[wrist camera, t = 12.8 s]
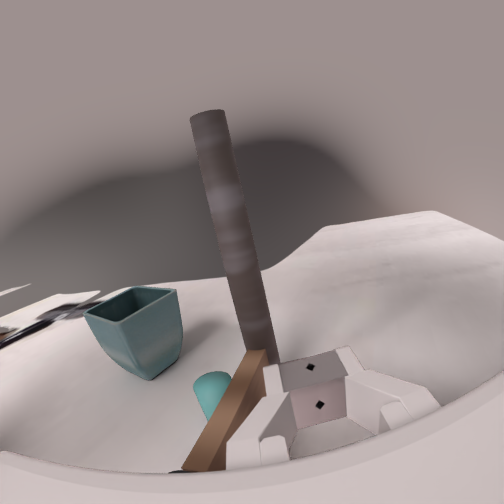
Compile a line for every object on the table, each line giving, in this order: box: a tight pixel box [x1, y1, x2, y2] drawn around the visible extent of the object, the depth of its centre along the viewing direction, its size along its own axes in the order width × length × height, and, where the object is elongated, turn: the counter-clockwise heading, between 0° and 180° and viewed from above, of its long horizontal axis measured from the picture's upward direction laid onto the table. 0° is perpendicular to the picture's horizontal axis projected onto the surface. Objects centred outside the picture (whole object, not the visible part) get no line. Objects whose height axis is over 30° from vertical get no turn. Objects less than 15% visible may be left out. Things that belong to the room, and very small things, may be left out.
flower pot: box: [83, 286, 183, 380], centre depth 33 cm, size 9×9×9 cm
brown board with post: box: [181, 110, 282, 473], centre depth 17 cm, size 15×3×24 cm, turn 163°
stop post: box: [193, 371, 232, 421], centre depth 21 cm, size 3×3×5 cm
